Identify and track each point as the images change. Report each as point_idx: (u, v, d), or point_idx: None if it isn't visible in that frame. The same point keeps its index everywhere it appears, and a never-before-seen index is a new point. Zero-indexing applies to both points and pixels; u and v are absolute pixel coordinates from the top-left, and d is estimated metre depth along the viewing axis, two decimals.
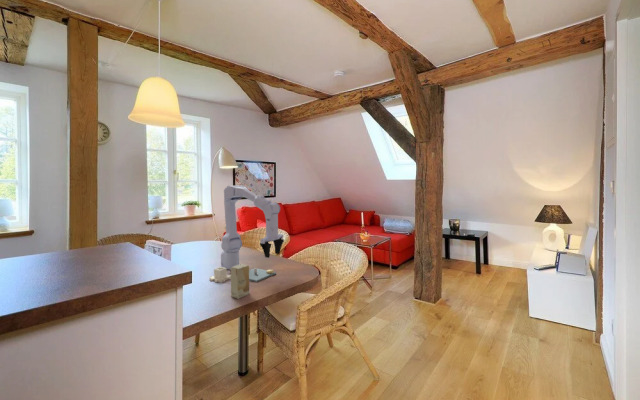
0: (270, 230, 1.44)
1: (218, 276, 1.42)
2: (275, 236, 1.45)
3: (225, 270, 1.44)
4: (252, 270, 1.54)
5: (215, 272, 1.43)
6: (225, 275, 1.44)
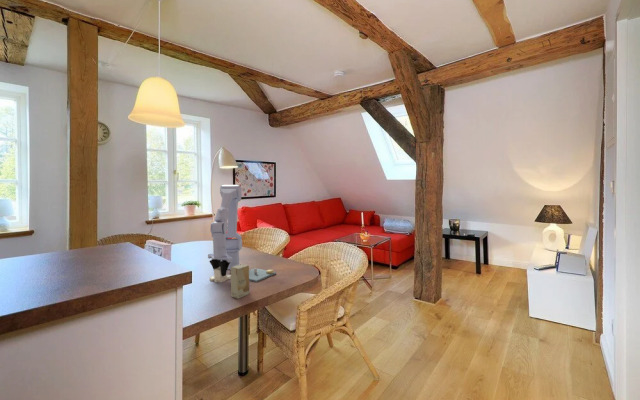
0: None
1: (218, 276, 1.42)
2: (214, 255, 1.41)
3: None
4: (252, 270, 1.54)
5: (215, 272, 1.43)
6: (225, 275, 1.44)
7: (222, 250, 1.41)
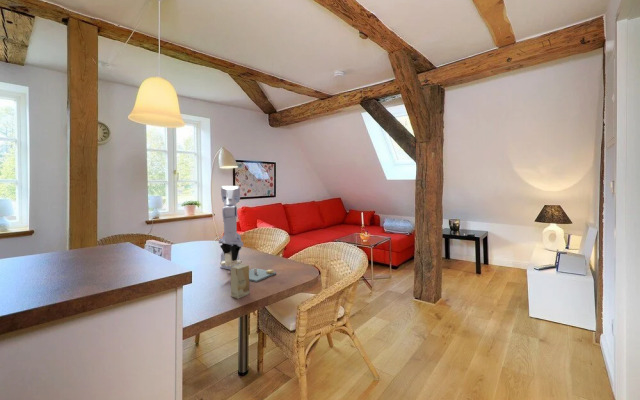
0: None
1: (229, 260, 1.43)
2: (225, 240, 1.42)
3: None
4: (252, 270, 1.54)
5: (226, 257, 1.44)
6: (236, 260, 1.45)
7: (233, 235, 1.42)
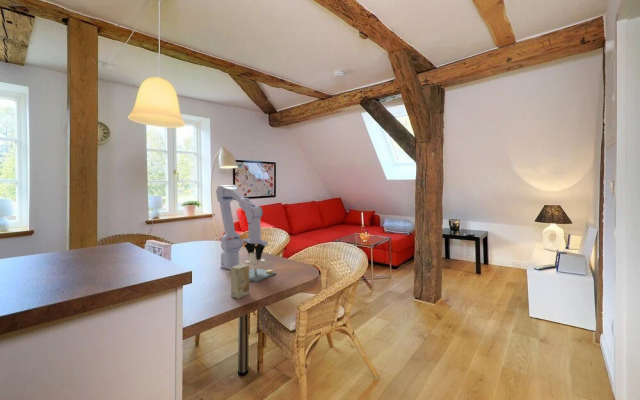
0: None
1: (253, 260, 1.46)
2: (249, 239, 1.46)
3: None
4: (252, 270, 1.54)
5: (250, 256, 1.47)
6: None
7: (258, 235, 1.45)
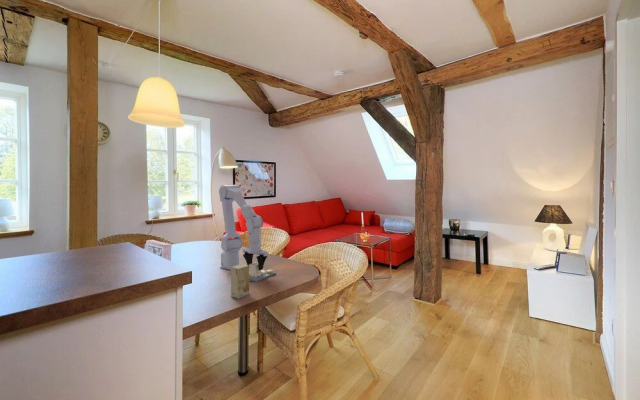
0: None
1: (253, 271, 1.46)
2: (249, 249, 1.46)
3: None
4: None
5: (250, 267, 1.47)
6: (260, 270, 1.49)
7: (258, 245, 1.46)
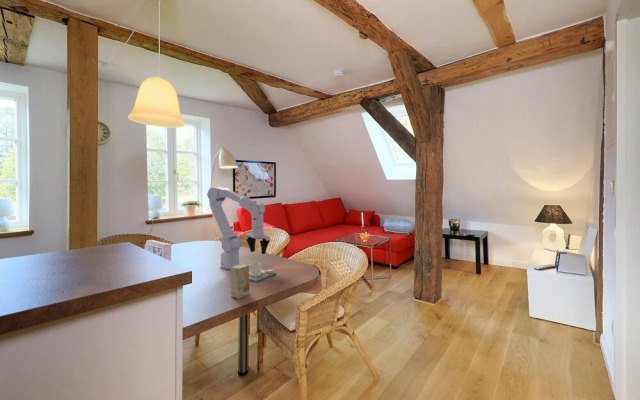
0: None
1: (253, 271, 1.46)
2: (252, 234, 1.53)
3: (260, 266, 1.49)
4: None
5: (250, 267, 1.47)
6: (260, 270, 1.49)
7: (260, 230, 1.53)
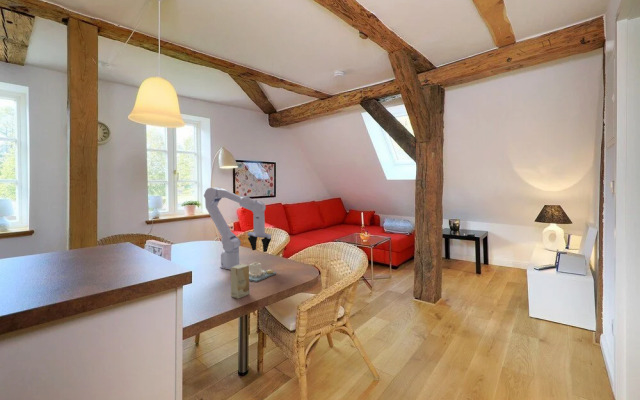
0: None
1: (253, 271, 1.46)
2: (254, 233, 1.57)
3: (260, 266, 1.49)
4: None
5: (250, 267, 1.47)
6: (260, 270, 1.49)
7: (262, 228, 1.57)
